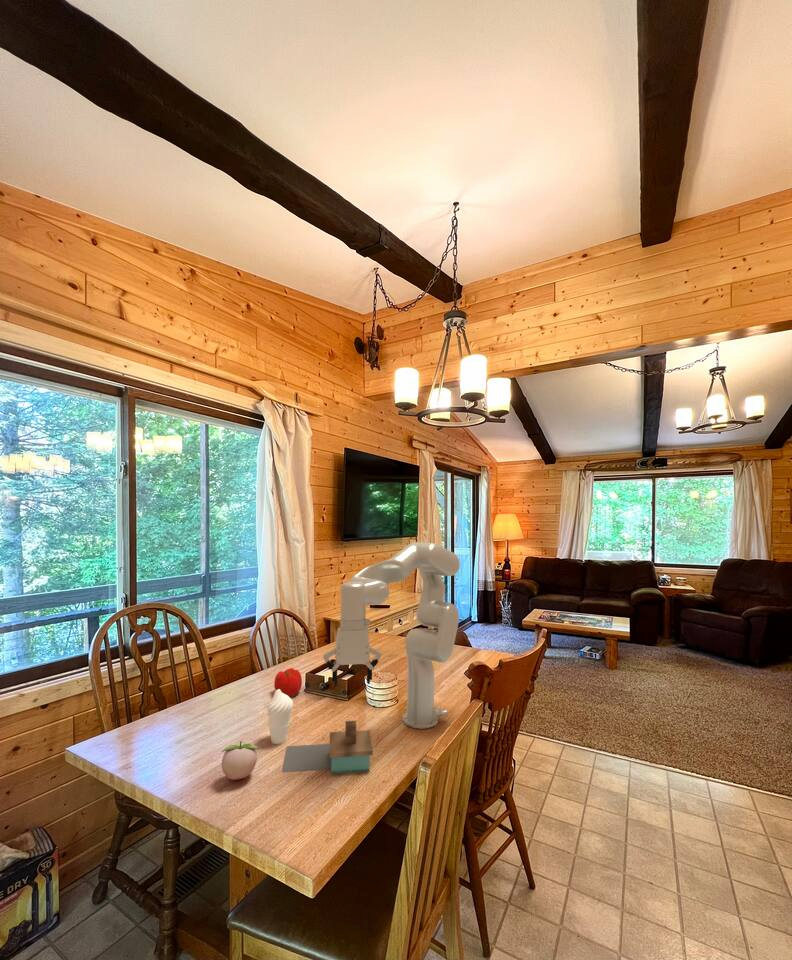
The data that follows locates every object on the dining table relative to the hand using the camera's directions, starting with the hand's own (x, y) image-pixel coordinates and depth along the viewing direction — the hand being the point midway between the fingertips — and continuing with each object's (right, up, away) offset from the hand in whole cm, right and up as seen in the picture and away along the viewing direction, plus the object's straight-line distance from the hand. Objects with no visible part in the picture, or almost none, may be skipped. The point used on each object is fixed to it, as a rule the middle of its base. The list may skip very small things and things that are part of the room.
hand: (352, 683), depth 129 cm
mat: (-13, -22, 0) cm, 26 cm away
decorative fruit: (-29, -21, -11) cm, 38 cm away
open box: (0, -22, -2) cm, 23 cm away
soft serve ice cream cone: (-24, -23, +9) cm, 35 cm away
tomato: (-31, -27, +47) cm, 62 cm away
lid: (0, -18, -2) cm, 18 cm away
